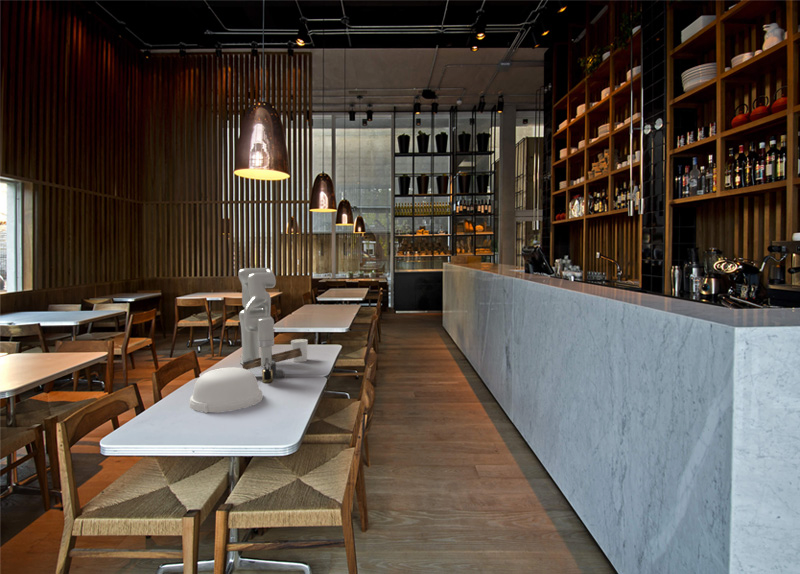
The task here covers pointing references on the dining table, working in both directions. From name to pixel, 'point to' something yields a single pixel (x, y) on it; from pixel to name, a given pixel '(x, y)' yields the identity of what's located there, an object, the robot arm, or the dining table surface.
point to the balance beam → (278, 357)
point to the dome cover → (225, 390)
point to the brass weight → (269, 379)
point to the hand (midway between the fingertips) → (267, 377)
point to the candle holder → (303, 347)
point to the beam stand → (276, 370)
